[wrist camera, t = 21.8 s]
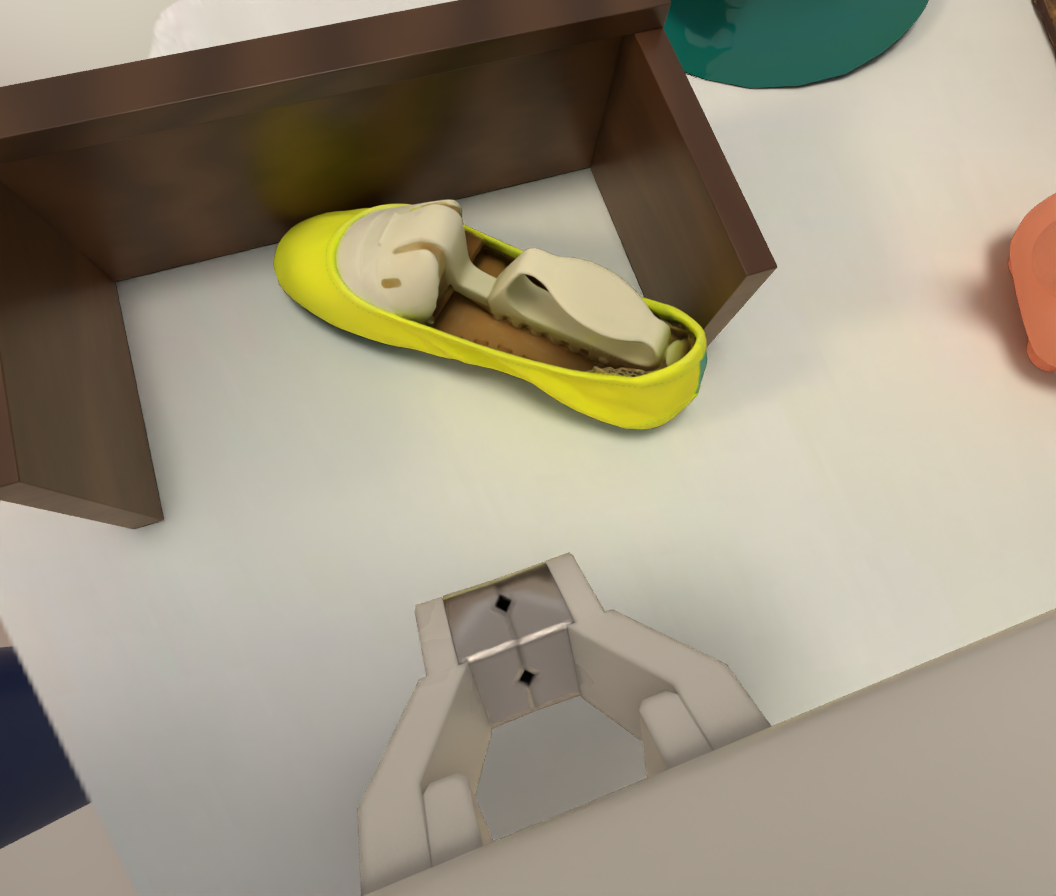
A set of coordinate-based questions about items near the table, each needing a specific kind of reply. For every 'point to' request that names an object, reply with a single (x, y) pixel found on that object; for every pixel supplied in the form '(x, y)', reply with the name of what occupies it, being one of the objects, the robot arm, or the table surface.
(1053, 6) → the book
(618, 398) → the ballet flat
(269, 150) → the wooden shelf
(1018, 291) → the teapot
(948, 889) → the robot arm
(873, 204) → the table surface
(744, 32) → the toy sailboat
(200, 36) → the table surface
